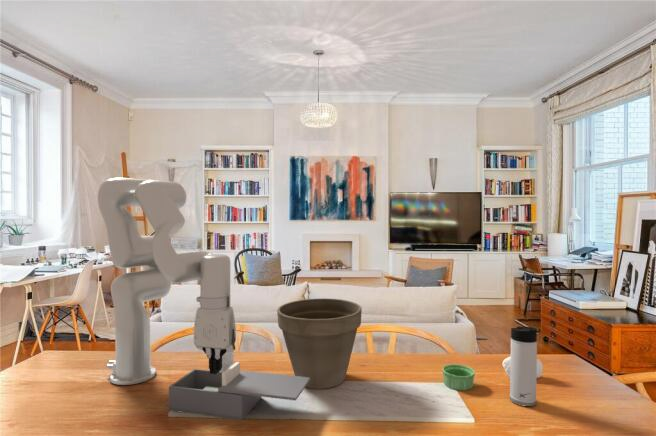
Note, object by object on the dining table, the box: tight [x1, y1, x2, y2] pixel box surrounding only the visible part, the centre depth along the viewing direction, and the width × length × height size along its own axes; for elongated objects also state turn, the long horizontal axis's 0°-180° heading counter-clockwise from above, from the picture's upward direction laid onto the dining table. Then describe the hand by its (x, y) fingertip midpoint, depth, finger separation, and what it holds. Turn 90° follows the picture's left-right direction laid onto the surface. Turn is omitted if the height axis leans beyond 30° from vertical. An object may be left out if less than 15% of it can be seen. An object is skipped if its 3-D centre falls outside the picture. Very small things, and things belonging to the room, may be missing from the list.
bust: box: [502, 344, 544, 379], centre depth 127 cm, size 12×8×11 cm
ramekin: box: [441, 363, 476, 392], centre depth 120 cm, size 9×9×4 cm
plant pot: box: [276, 297, 363, 390], centre depth 124 cm, size 25×25×22 cm
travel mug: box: [509, 326, 538, 407], centre depth 109 cm, size 6×7×20 cm
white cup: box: [221, 342, 236, 372], centre depth 129 cm, size 8×8×10 cm
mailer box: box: [168, 368, 263, 421], centre depth 108 cm, size 20×12×6 cm, turn 76°
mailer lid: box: [218, 361, 310, 401], centre depth 105 cm, size 20×12×4 cm, turn 76°
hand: (215, 372), depth 108 cm, fingers closed
